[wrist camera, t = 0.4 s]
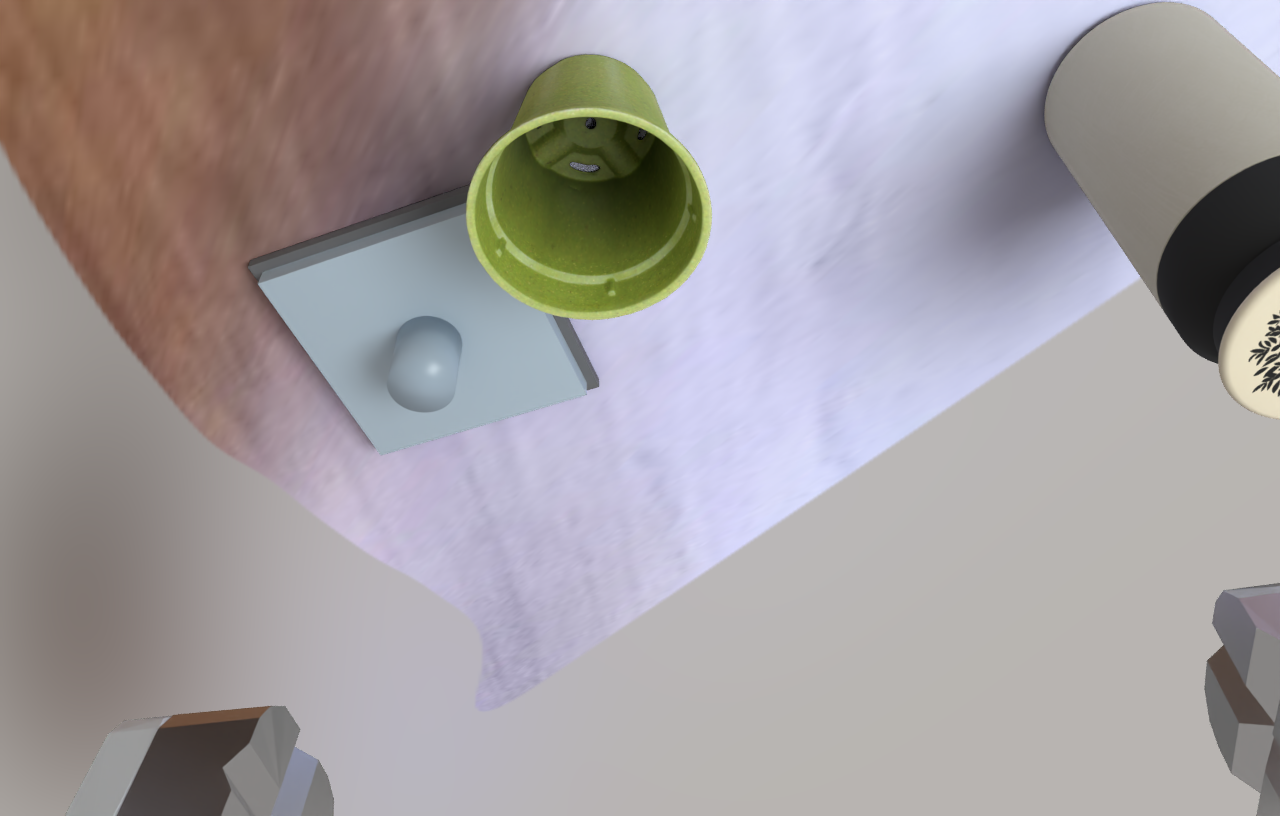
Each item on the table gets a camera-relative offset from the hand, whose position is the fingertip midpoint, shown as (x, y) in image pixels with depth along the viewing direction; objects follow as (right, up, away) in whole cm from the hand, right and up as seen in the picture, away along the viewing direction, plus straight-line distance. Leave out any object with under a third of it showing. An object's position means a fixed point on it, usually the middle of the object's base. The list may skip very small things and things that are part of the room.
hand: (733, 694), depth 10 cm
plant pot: (-3, +15, +39) cm, 42 cm away
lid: (-11, +6, +45) cm, 47 cm away
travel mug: (+21, +17, +38) cm, 47 cm away
